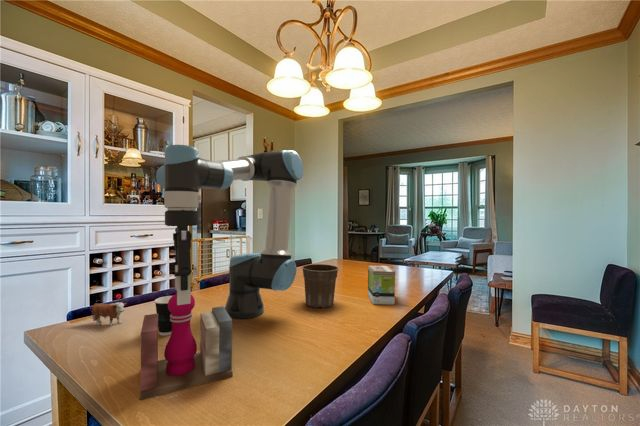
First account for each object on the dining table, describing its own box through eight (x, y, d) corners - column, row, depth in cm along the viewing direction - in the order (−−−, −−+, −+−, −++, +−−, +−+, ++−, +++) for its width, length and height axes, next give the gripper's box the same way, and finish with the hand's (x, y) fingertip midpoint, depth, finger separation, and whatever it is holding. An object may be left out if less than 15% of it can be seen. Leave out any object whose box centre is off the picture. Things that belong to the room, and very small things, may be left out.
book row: (222, 351, 82) (222, 303, 82) (232, 376, 70) (233, 319, 70) (144, 368, 73) (144, 313, 73) (139, 399, 61) (140, 334, 61)
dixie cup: (152, 339, 90) (152, 303, 90) (155, 329, 97) (155, 297, 97) (180, 335, 93) (181, 301, 93) (181, 326, 100) (182, 294, 100)
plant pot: (345, 302, 129) (345, 266, 129) (326, 312, 115) (326, 272, 115) (314, 296, 138) (315, 262, 138) (294, 305, 124) (294, 267, 124)
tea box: (395, 304, 126) (395, 271, 126) (372, 304, 126) (372, 270, 126) (387, 295, 141) (388, 264, 141) (367, 295, 141) (367, 264, 141)
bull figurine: (120, 328, 98) (120, 304, 98) (87, 325, 101) (88, 301, 101) (131, 323, 102) (131, 300, 102) (99, 320, 105) (99, 298, 105)
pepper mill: (158, 377, 67) (159, 290, 67) (171, 361, 74) (172, 283, 74) (190, 376, 67) (191, 290, 67) (200, 360, 74) (201, 283, 75)
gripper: (204, 209, 61) (204, 308, 62) (194, 209, 83) (194, 282, 84) (164, 209, 58) (164, 314, 58) (164, 209, 80) (164, 286, 80)
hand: (182, 296), depth 71 cm, fingers open, 13 cm apart
